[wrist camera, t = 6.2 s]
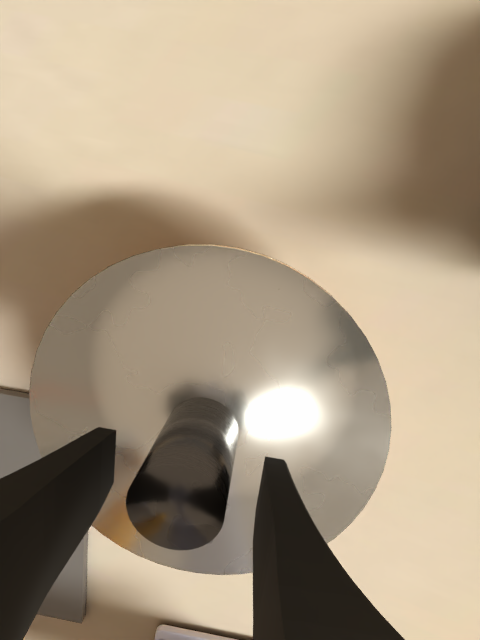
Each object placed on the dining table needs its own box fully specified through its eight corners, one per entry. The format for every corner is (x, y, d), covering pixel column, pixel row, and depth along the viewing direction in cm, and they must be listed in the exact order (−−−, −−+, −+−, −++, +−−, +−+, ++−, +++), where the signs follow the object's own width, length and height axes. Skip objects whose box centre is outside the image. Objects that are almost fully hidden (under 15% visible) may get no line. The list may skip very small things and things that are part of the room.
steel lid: (332, 589, 16) (356, 734, 11) (36, 518, 17) (-56, 630, 12) (435, 287, 12) (531, 322, 8) (50, 209, 13) (-75, 200, 8)
